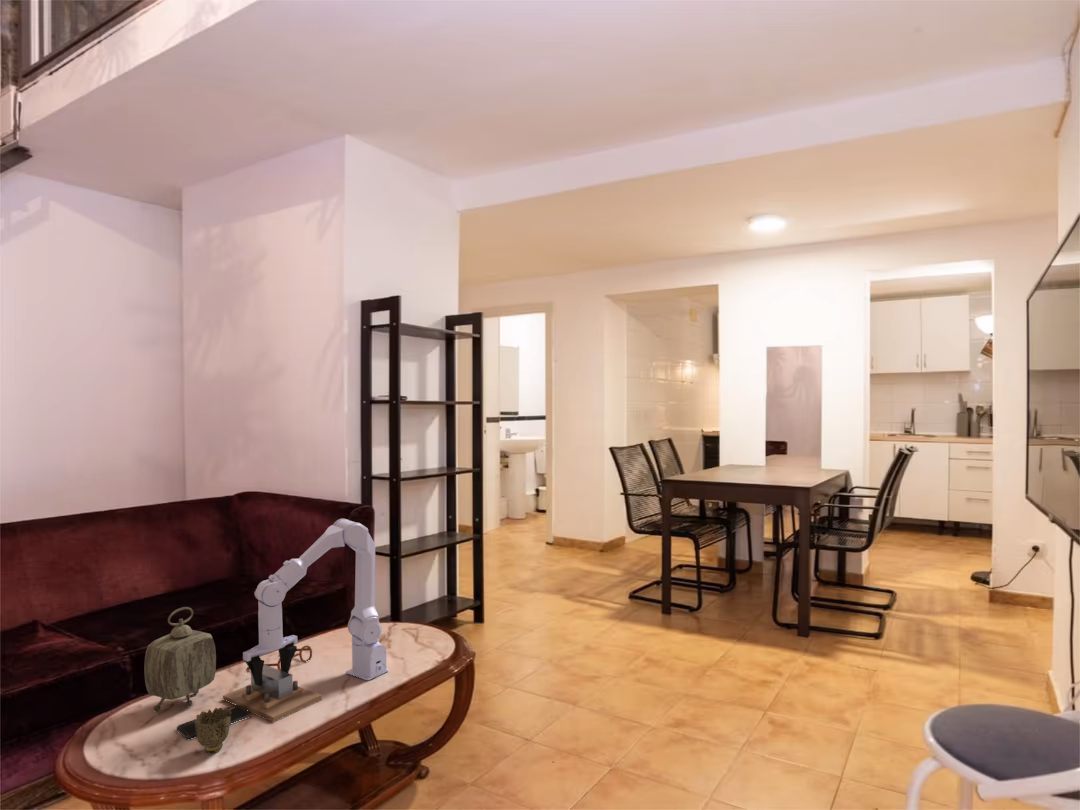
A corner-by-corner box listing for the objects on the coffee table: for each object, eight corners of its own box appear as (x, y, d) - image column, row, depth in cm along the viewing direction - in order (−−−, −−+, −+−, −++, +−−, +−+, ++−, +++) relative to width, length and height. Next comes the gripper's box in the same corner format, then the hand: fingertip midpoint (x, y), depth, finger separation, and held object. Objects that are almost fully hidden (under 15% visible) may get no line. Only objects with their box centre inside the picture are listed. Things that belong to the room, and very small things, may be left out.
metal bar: (292, 694, 171) (292, 674, 171) (278, 700, 168) (278, 680, 168) (265, 683, 178) (264, 664, 178) (251, 688, 175) (250, 670, 175)
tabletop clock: (197, 690, 179) (195, 598, 179) (220, 696, 176) (218, 602, 175) (145, 713, 166) (142, 614, 166) (168, 721, 163) (166, 619, 162)
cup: (203, 742, 152) (202, 707, 152) (236, 740, 153) (236, 706, 153) (189, 760, 145) (188, 723, 144) (224, 758, 145) (223, 721, 145)
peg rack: (321, 699, 173) (321, 683, 172) (273, 722, 161) (273, 705, 161) (271, 680, 185) (270, 665, 185) (223, 700, 173) (222, 684, 173)
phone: (174, 726, 158) (238, 704, 169) (175, 731, 158) (238, 708, 169) (187, 737, 153) (252, 713, 164) (187, 742, 153) (252, 718, 164)
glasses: (279, 677, 188) (279, 659, 188) (246, 670, 193) (245, 653, 193) (313, 660, 200) (312, 643, 200) (280, 654, 205) (280, 637, 205)
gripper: (285, 616, 181) (286, 666, 181) (235, 632, 169) (236, 686, 169) (301, 621, 177) (303, 671, 177) (251, 638, 165) (253, 692, 165)
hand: (271, 679), depth 173 cm, fingers open, 7 cm apart
